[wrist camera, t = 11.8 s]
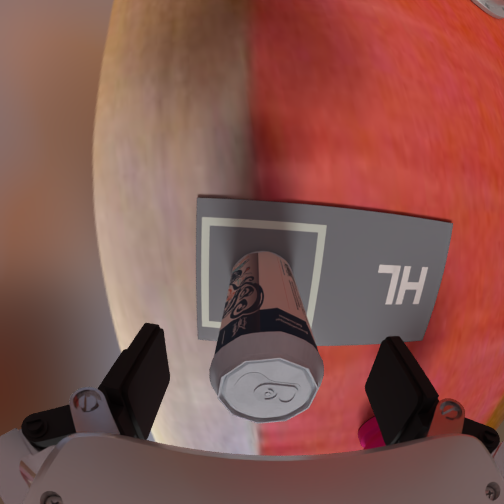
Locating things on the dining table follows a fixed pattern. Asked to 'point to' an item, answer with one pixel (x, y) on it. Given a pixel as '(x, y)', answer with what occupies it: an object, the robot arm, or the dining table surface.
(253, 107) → the dining table surface
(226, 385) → the beer can
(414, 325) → the slate board
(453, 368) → the dining table surface
